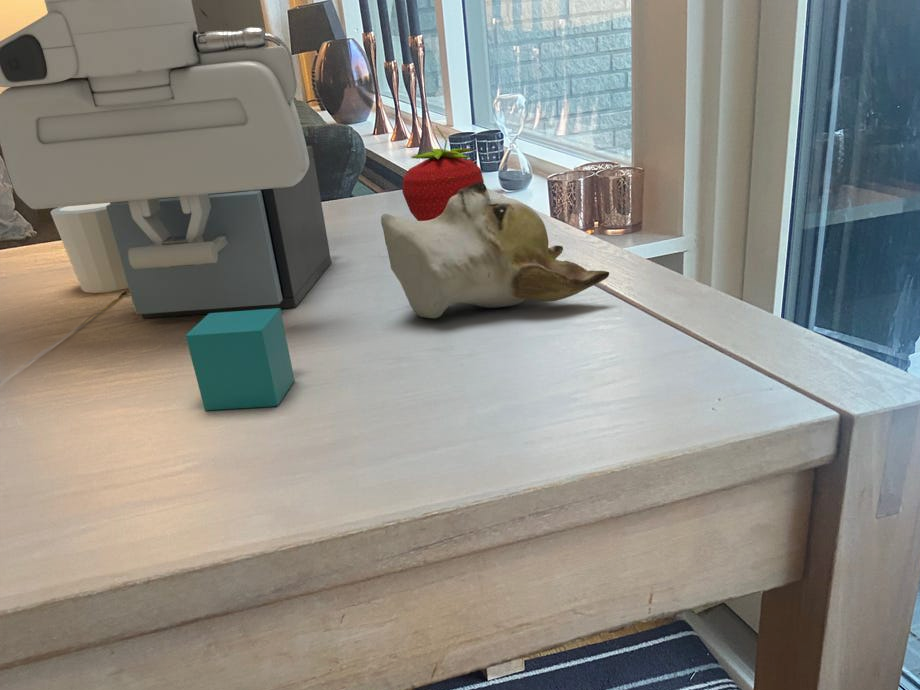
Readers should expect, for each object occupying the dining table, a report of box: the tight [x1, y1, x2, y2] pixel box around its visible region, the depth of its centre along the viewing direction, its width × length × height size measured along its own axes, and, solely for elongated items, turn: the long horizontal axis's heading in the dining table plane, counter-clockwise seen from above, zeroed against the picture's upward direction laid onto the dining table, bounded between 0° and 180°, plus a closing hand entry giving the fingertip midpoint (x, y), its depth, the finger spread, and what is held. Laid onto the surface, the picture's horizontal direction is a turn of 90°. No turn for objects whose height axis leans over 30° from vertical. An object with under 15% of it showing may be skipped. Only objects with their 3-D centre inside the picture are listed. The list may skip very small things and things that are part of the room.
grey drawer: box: [106, 189, 283, 315], centre depth 75 cm, size 18×11×8 cm, turn 176°
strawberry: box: [401, 125, 485, 221], centre depth 84 cm, size 6×8×10 cm
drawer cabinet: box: [110, 145, 332, 319], centre depth 79 cm, size 15×13×10 cm
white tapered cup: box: [50, 203, 130, 294], centre depth 84 cm, size 7×7×7 cm
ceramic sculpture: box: [380, 182, 610, 319], centre depth 68 cm, size 11×9×15 cm
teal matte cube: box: [185, 308, 295, 411], centre depth 57 cm, size 4×4×4 cm
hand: (185, 264), depth 69 cm, fingers closed
